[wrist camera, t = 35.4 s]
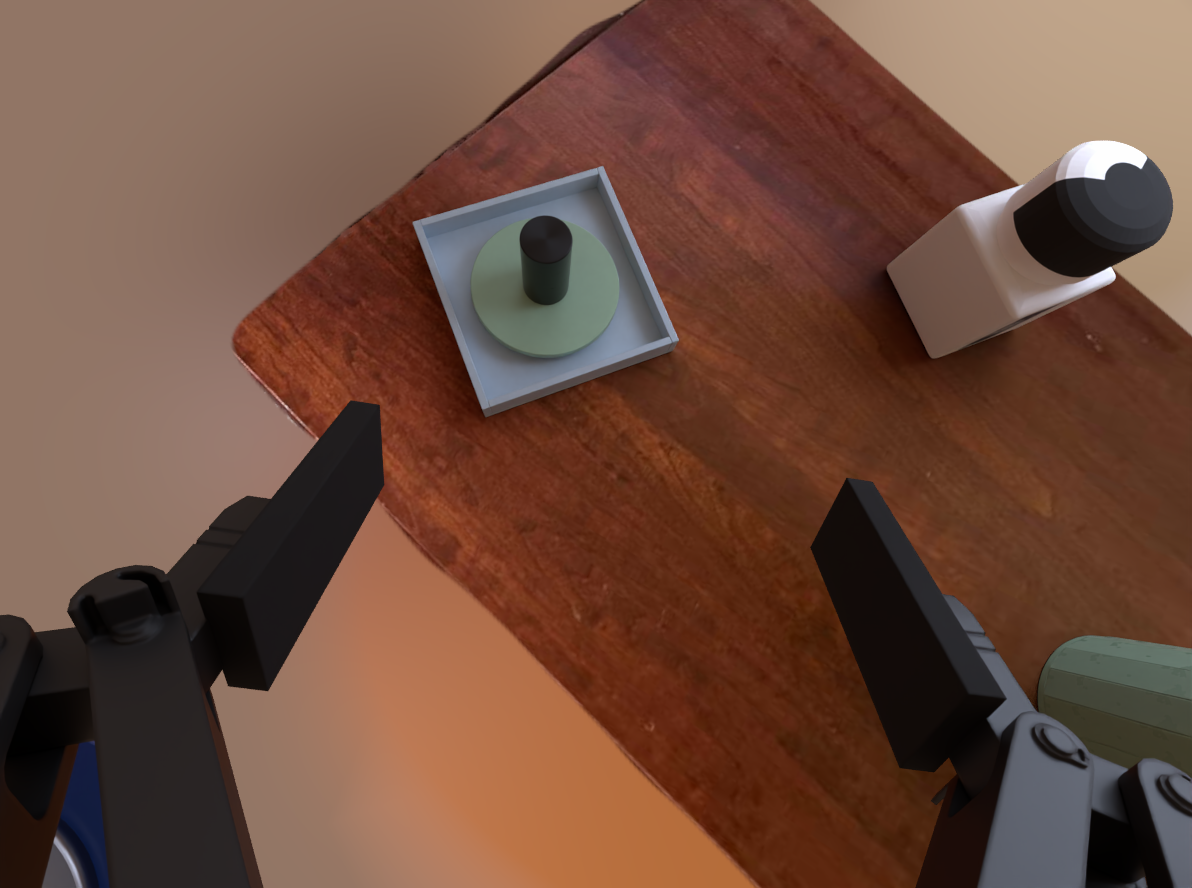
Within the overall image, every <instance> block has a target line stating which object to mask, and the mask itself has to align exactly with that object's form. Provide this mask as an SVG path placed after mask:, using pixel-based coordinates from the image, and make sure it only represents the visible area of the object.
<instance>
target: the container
mask: <svg viewBox="0 0 1192 888" xmlns="http://www.w3.org/2000/svg"><path fill="white" fill-rule="evenodd" d="M1172 211H1173V200H1172V194H1171V191H1170V187H1169V185H1168V183H1167V181H1166V178H1165V177H1164V175H1163V173H1162V172H1161V171H1160V169H1159V168H1158V167H1157V166H1156V165H1155V163H1154V162H1153V161H1152V160H1150V159H1149V158H1148V157H1147V156H1146V155H1144V154H1143V153H1142V152H1140V151H1138V150H1136V149H1135V148H1133V147H1131V146H1128V145H1126V144H1122V143H1119V142H1114V141H1093V142H1087V143H1083V144H1080V145H1079V146H1076V147H1074V148H1073V149H1071V150H1070V151H1069V152H1067V153H1066V154H1065V155H1063V156H1062V157H1061V158H1060V159H1058V160H1057V161H1055V162H1054V163H1053V164H1052V165H1050V166H1049V167H1048V168H1046V169H1045V170H1044V171H1043V172H1041V173H1040V174H1039V175H1037V176H1036V177H1035V178H1033V179H1032V180H1031V181H1029V182H1028V183H1026V184H1023V185H1020V186H1017V187H1014V188H1011V189H1008V190H1005V191H1002V192H999V193H996V194H993V195H990V196H987V197H984V198H981V199H978V200H975V201H972V202H969V203H966V204H963V205H960V206H958V207H957V208H956V209H954V210H953V211H952V212H951V213H950V214H948V215H947V216H946V217H945V218H944V219H942V220H941V221H940V222H939V223H938V224H936V225H935V226H934V227H933V228H932V229H930V230H929V231H928V232H927V233H926V234H924V235H923V236H922V237H921V238H920V239H918V240H917V241H916V242H915V243H914V244H912V245H911V246H910V247H909V248H908V249H906V250H905V251H904V252H903V253H902V254H900V255H899V256H898V257H897V258H896V259H894V260H893V261H892V262H891V263H890V264H888V266H887V272H888V274H889V276H890V278H891V280H892V282H893V284H894V286H895V288H896V290H897V292H898V294H899V296H900V298H901V300H902V302H903V304H904V306H905V308H906V310H907V312H908V314H909V316H910V318H911V320H912V322H913V324H914V326H915V328H916V330H917V332H918V334H919V336H920V338H921V340H922V342H923V344H924V346H925V348H926V350H927V352H928V354H929V356H930V357H931V358H939V357H942V356H944V355H947V354H950V353H952V352H955V351H957V350H960V349H963V348H965V347H968V346H971V345H973V344H976V343H979V342H981V341H984V340H986V339H989V338H992V337H994V336H997V335H1000V334H1002V333H1005V332H1008V331H1010V330H1013V329H1015V328H1018V327H1020V326H1022V325H1024V324H1026V323H1028V322H1030V321H1033V320H1035V319H1037V318H1039V317H1041V316H1043V315H1045V314H1047V313H1050V312H1052V311H1054V310H1056V309H1058V308H1060V307H1062V306H1064V305H1066V304H1069V303H1071V302H1073V301H1075V300H1077V299H1079V298H1081V297H1083V296H1085V295H1088V294H1090V293H1092V292H1094V291H1096V290H1098V289H1100V288H1102V287H1104V286H1107V285H1109V284H1111V283H1112V282H1113V281H1114V280H1115V277H1116V276H1115V273H1114V271H1113V270H1112V268H1111V266H1113V265H1115V264H1117V263H1119V262H1121V261H1123V260H1125V259H1127V258H1129V257H1131V256H1133V255H1135V254H1137V253H1139V252H1141V251H1143V250H1145V249H1147V248H1149V247H1151V246H1152V245H1154V244H1155V243H1157V242H1158V241H1159V240H1160V239H1161V237H1162V236H1163V235H1164V233H1165V231H1166V229H1167V227H1168V225H1169V223H1170V220H1171V217H1172Z"/></svg>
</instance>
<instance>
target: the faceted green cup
mask: <svg viewBox="0 0 1192 888" xmlns="http://www.w3.org/2000/svg"><path fill="white" fill-rule="evenodd" d="M1038 709H1039V713H1043V714H1046V715H1048V716H1050V717H1052V718H1053V719H1055V720H1057V721H1059V722H1060V723H1062V724H1063V725H1064V726H1066V727H1067V728H1068V729H1070V730H1071V731H1072V732H1073V733H1074V734H1075V735H1076V736H1077V737H1078V738H1079V739H1080V740H1081V741H1082V743H1083V744H1084V745H1085V746H1086V748H1087V750H1088V751H1089V753H1091V754H1093V755H1096V756H1098V757H1101V758H1103V759H1105V760H1108V761H1110V762H1113V763H1115V764H1118V765H1120V766H1122V767H1125V768H1127V769H1130V768H1131V767H1132V766H1134V765H1135V764H1137V763H1138V762H1139V761H1141V760H1142V759H1146V758H1155V759H1158V760H1160V761H1163V762H1166V763H1169V764H1171V765H1172V766H1174V767H1176V768H1178V769H1179V770H1181V771H1183V772H1184V773H1186V774H1187V775H1188V776H1190V777H1191V778H1192V649H1190V648H1183V647H1176V646H1170V645H1163V644H1156V643H1150V642H1143V641H1136V640H1129V639H1123V638H1116V637H1102V636H1082V637H1078V638H1075V639H1072V640H1070V641H1068V642H1066V643H1064V644H1063V645H1061V646H1060V647H1059V648H1058V649H1056V650H1055V651H1054V653H1053V654H1052V655H1051V656H1050V658H1049V659H1048V661H1047V662H1046V664H1045V666H1044V668H1043V671H1042V673H1041V677H1040V680H1039V686H1038Z"/></svg>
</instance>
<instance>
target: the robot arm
mask: <svg viewBox="0 0 1192 888" xmlns="http://www.w3.org/2000/svg"><path fill="white" fill-rule="evenodd" d="M383 486H384V474H383V456H382V438H381V421H380V405H377V404H370V403H364V402H358V401H350V402H349V403H348V404H347V406H346V407H345V408H344V409H343V411H342V412H341V413H340V414H339V416H338V417H337V418H336V419H335V420H334V422H333V423H332V424H331V425H330V427H329V428H328V429H327V430H326V432H325V433H324V434H323V435H322V437H321V438H320V439H319V440H318V442H317V443H316V444H315V445H314V446H313V448H312V449H311V450H310V451H309V453H308V454H307V455H306V456H305V458H304V459H303V460H302V461H301V463H300V464H299V465H298V466H297V468H296V469H295V470H294V471H293V472H292V474H291V475H290V476H289V477H288V479H287V480H286V481H285V482H284V484H283V485H282V486H281V488H280V489H279V490H278V491H277V492H276V494H275V495H274V496H273V497H272V499H267V498H260V497H253V496H246V497H245V498H243V499H241V500H239V501H238V502H236V503H234V504H233V505H231V506H229V507H228V508H226V509H225V510H224V511H223V512H222V513H221V514H220V515H219V516H218V517H217V518H216V519H215V521H214V522H213V523H212V524H211V525H210V526H209V530H206V531H205V532H204V533H203V534H202V535H201V536H200V537H199V538H198V540H197V543H196V544H193V545H192V546H191V547H190V548H189V550H188V551H187V552H186V553H185V554H184V555H183V556H182V557H181V559H180V560H179V561H178V562H177V563H176V564H175V566H173V568H172V569H171V570H170V571H169V572H168V573H167V574H165V573H164V571H162V570H160V569H157V568H155V567H153V566H142V565H133V566H128V567H123V568H117V569H115V570H112V571H109V572H107V573H104V574H102V575H99V576H97V577H95V578H94V579H92V580H91V581H89V582H88V583H86V584H85V585H84V586H82V587H81V588H80V589H79V590H78V591H77V592H76V594H75V595H74V596H73V597H72V598H71V599H70V603H69V607H68V611H67V612H68V614H69V616H70V618H71V619H72V621H73V623H74V625H75V627H74V628H66V629H58V630H50V631H43V632H34V631H33V629H32V628H31V626H30V625H29V624H28V623H27V622H26V621H25V620H24V618H20V617H16V616H13V615H0V888H99V884H98V879H97V876H96V872H95V869H94V865H93V863H92V861H91V858H90V856H89V853H88V852H87V850H86V848H85V846H84V844H83V843H82V841H81V840H80V838H79V837H78V836H77V834H76V833H75V831H74V830H73V829H72V828H71V827H70V826H69V825H68V824H67V823H66V822H65V821H64V820H63V819H62V818H60V816H61V812H62V808H63V804H64V800H65V797H66V793H67V789H68V785H69V781H70V777H71V774H72V770H73V766H74V762H75V758H76V754H77V751H78V747H79V743H84V742H90V741H95V750H96V760H97V769H98V779H99V789H100V799H101V809H102V819H103V829H104V839H105V849H106V859H107V869H108V879H109V888H263V885H262V881H261V877H260V874H259V870H258V866H257V862H256V858H255V855H254V851H253V847H252V843H251V839H250V835H249V832H248V828H247V824H246V820H245V817H244V813H243V809H242V805H241V801H240V798H239V794H238V790H237V786H236V783H235V779H234V775H233V771H232V767H231V764H230V760H229V757H228V752H227V748H226V745H225V741H224V738H223V734H222V730H221V726H220V722H219V718H218V714H217V711H216V707H215V703H214V699H213V696H212V693H211V690H210V687H211V686H212V684H213V683H214V681H215V680H216V678H217V676H218V675H219V674H220V672H221V671H222V670H223V672H224V675H225V678H226V681H227V684H228V686H230V687H239V688H247V689H255V690H263V691H268V690H269V689H270V687H271V685H272V683H273V681H274V680H275V678H276V676H277V674H278V673H279V671H280V669H281V667H282V666H283V664H284V662H285V660H286V658H287V657H288V655H289V653H290V651H291V649H292V648H293V646H294V644H295V642H296V641H297V639H298V637H299V635H300V633H301V632H302V630H303V628H304V626H305V625H306V623H307V621H308V619H309V617H310V616H311V613H312V612H313V610H314V609H315V607H316V605H317V603H318V601H319V600H320V598H321V596H322V594H323V592H324V590H325V589H326V587H327V585H328V584H329V582H330V580H331V578H332V576H333V575H334V573H335V571H336V569H337V568H338V566H339V564H340V562H341V560H342V559H343V557H344V555H345V553H346V552H347V550H348V548H349V546H350V545H351V543H352V541H353V539H354V537H355V536H356V534H357V532H358V530H359V529H360V527H361V525H362V523H363V521H364V520H365V518H366V516H367V514H368V513H369V511H370V509H371V507H372V505H373V504H374V502H375V500H376V498H377V497H378V495H379V493H380V491H381V489H382V488H383ZM810 548H811V550H812V553H813V555H814V557H815V560H816V562H817V565H818V567H819V570H820V572H821V575H822V577H823V580H824V582H825V585H826V587H827V590H828V592H829V594H830V597H831V599H832V602H833V604H834V607H835V609H836V612H837V614H838V617H839V619H840V622H841V624H842V627H843V629H844V631H845V634H846V636H847V639H848V641H849V644H850V646H851V649H852V651H853V654H854V656H855V659H856V661H857V664H858V666H859V668H860V671H861V673H862V676H863V678H864V681H865V683H866V686H867V688H868V691H869V693H870V696H871V698H872V701H873V703H874V705H875V708H876V710H877V713H878V715H879V718H880V720H881V723H882V725H883V728H884V730H885V733H886V735H887V738H888V740H889V742H890V745H891V747H892V750H893V752H894V755H895V757H896V760H897V762H898V765H899V767H900V768H903V769H912V770H920V771H928V772H935V771H936V770H937V769H938V768H939V767H940V766H941V765H942V764H943V763H944V762H945V761H946V760H947V759H948V758H950V760H951V762H952V764H953V766H954V768H955V770H956V772H957V775H956V776H955V777H954V778H952V779H951V780H950V781H949V782H948V783H947V784H946V785H945V786H944V787H943V788H942V789H941V790H940V791H939V792H938V793H937V794H936V795H935V796H934V797H933V799H932V800H931V801H932V802H933V803H934V804H936V805H937V804H938V803H939V802H940V801H941V800H942V799H944V801H943V804H942V807H941V810H940V813H939V816H938V819H937V822H936V825H935V829H934V832H933V835H932V838H931V841H930V844H929V847H928V850H927V854H926V857H925V860H924V863H923V866H922V869H921V872H920V875H919V878H918V882H917V885H916V888H1192V778H1191V777H1190V776H1188V775H1187V774H1186V773H1184V772H1183V771H1181V770H1179V769H1178V768H1176V767H1174V766H1172V765H1171V764H1169V763H1166V762H1163V761H1160V760H1158V759H1155V758H1146V759H1142V760H1141V761H1139V762H1138V763H1137V764H1135V765H1134V766H1132V767H1131V768H1130V769H1127V768H1125V767H1122V766H1120V765H1118V764H1115V763H1113V762H1110V761H1108V760H1105V759H1103V758H1101V757H1098V756H1096V755H1093V754H1091V753H1089V751H1088V750H1087V748H1086V746H1085V745H1084V744H1083V743H1082V741H1081V740H1080V739H1079V738H1078V737H1077V736H1076V735H1075V734H1074V733H1073V732H1072V731H1071V730H1070V729H1068V728H1067V727H1066V726H1064V725H1063V724H1062V723H1060V722H1059V721H1057V720H1055V719H1053V718H1052V717H1050V716H1048V715H1046V714H1043V713H1039V712H1037V711H1036V710H1035V708H1034V707H1033V705H1032V704H1031V702H1030V701H1029V699H1028V698H1027V696H1026V695H1025V693H1024V692H1023V690H1022V689H1021V687H1020V686H1019V684H1018V683H1017V681H1016V679H1015V678H1014V676H1013V675H1012V673H1011V672H1010V670H1009V669H1008V667H1007V666H1006V664H1005V663H1004V661H1003V660H1002V658H1001V657H1000V655H999V653H996V652H995V647H994V646H993V644H992V643H991V641H990V640H989V638H988V637H985V632H984V631H983V629H982V627H981V626H980V624H979V623H978V621H977V620H976V618H975V617H974V615H973V614H972V613H971V612H970V611H969V610H968V609H967V608H966V607H965V606H964V605H963V604H962V603H961V602H960V601H958V600H957V599H956V598H955V597H954V596H951V595H945V594H942V593H941V591H940V590H939V588H938V587H937V585H936V583H935V582H934V580H933V579H932V577H931V575H930V574H929V572H928V571H927V569H926V567H925V566H924V564H923V563H922V561H921V559H920V558H919V556H918V554H917V553H916V551H915V550H914V548H913V546H912V545H911V543H910V542H909V540H908V538H907V537H906V535H905V534H904V532H903V530H902V529H901V527H900V525H899V524H898V522H897V521H896V519H895V517H894V516H893V514H892V513H891V511H890V509H889V508H888V506H887V505H886V503H885V501H884V500H883V498H882V496H881V495H880V493H879V492H878V490H877V488H876V487H875V485H874V484H873V482H870V481H864V480H857V479H851V478H846V480H845V482H844V484H843V486H842V488H841V490H840V492H839V494H838V496H837V497H836V499H835V501H834V503H833V505H832V507H831V509H830V511H829V513H828V515H827V517H826V519H825V520H824V522H823V524H822V526H821V528H820V530H819V532H818V534H817V536H816V538H815V540H814V542H813V543H812V545H811V547H810ZM1145 876H1146V879H1147V884H1146V880H1145ZM1147 885H1148V887H1147Z"/></svg>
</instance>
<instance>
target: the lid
mask: <svg viewBox="0 0 1192 888" xmlns="http://www.w3.org/2000/svg"><path fill="white" fill-rule="evenodd" d="M470 285H471V296H472V301H473V304H474V308H475V311H476V313H477V315H478V317H479V319H480V321H481V323H482V324H483V326H484V327H485V328H486V330H487V331H488V332H489V333H490V334H491V335H492V336H493V337H494V338H495V339H496V340H497V341H498V342H500V343H501V344H503V345H504V346H506V347H508V348H509V349H511V350H513V351H515V352H518V353H521V354H524V355H528V356H532V357H539V358H555V357H562V356H566V355H570V354H573V353H575V352H578V351H580V350H582V349H584V348H586V347H587V346H589V345H590V344H592V343H593V342H594V341H596V340H597V339H598V338H599V337H600V336H601V335H602V334H603V333H604V331H605V330H606V329H607V327H608V326H609V324H610V322H611V320H612V319H613V316H614V314H615V311H616V308H617V304H618V299H619V278H618V273H617V269H616V267H615V264H614V261H613V260H612V258H611V256H610V254H609V252H608V251H607V250H606V248H605V247H604V246H603V244H602V243H601V242H600V241H599V240H598V239H597V238H596V237H595V236H593V235H592V234H591V233H590V232H588V231H587V230H585V229H584V228H582V227H580V226H578V225H576V224H573V223H571V222H568V221H565V220H561V219H558V218H556V217H553V216H548V215H542V216H537V217H534V218H530V219H525V220H521V221H518V222H515V223H513V224H510V225H508V226H506V227H505V228H503V229H501V230H500V231H498V232H497V233H496V234H494V235H493V236H492V237H491V238H490V239H489V240H488V241H487V242H486V244H485V245H484V246H483V247H482V249H481V250H480V252H479V254H478V255H477V258H476V260H475V262H474V265H473V269H472V273H471V281H470Z"/></svg>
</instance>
